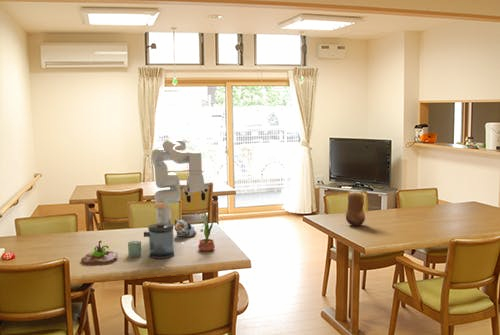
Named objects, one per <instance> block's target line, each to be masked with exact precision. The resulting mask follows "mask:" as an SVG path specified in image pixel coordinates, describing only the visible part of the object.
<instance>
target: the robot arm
mask: <svg viewBox="0 0 500 335" xmlns="http://www.w3.org/2000/svg"><path fill="white" fill-rule="evenodd" d="M186 148H187V146H186V142H185V141H184V140H183V139H182V138H172V139H171V138H170V139H166V140H165V141H164V142H163V143H162V147H159V148H155V149H153V150H152V152H151V162H152V164H153V168H154V179H155V186H156V187H157V188H158V189H160V190H158V191H156V192H155V193H154V201H155V204H156V203H166V208H163V216H158V208H155V210H156V224H159V223H168V224H172V210H171V208H170V206H169V204H175V203H179V202H180V200H181V190H182V192H183V194H185V196H186V201H187V203H191V199H192V198H191V194H192V193H199V192H200V193H201V194H200V196H201V197H200V198H201V201H206V194H207V192H208V189H209V188H210V186H209V185H207V184H205V179H204V175H203V173H204V170H203V167H202V164H203V162H202V153H201V152H200V151H197V150H193V149H191V150H186ZM165 161H172V162H174V163H176V164H178V165H180V164H182V165H183V164H188V175H187V177H186V185H185V186H183V188H182V189H181V185H180V184H181V183H180V177H179V175H178V174H177V173H175V172H169V169H168V165H167V164H166V162H165ZM166 188H167V189H166ZM168 188H170V189H168ZM174 236H175V234H174V233H173V237H174Z"/></svg>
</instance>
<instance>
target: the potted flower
mask: <svg viewBox="0 0 500 335" xmlns="http://www.w3.org/2000/svg"><path fill="white" fill-rule="evenodd" d="M200 213H201V216H200ZM194 216H195V217H197V220H198V221H201V220H202V221H203V225H202V226H201V229H200V232H201V233H202V232H203V234H204V238H205V239H204V238H203V239H200V240H199V244H198V246H197V247H198V250H199V251H201V252H211V250H212V251H213V250H215V248H216V247H215V243H214V242H215V241H214V239H210V238H209V237H210V236H211V231H212V228H213V225H214V221H215V216H213V217H212V220H211V224H210V226H209V220H208V217H207V216H208V215H207V214H206V212H205V211H204V210H203V209H202V210H200V211H199V212H196V213H195V214H194ZM203 227H204V229H203Z"/></svg>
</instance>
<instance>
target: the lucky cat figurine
mask: <svg viewBox="0 0 500 335" xmlns="http://www.w3.org/2000/svg"><path fill="white" fill-rule="evenodd" d="M174 230H175V231H176V235H177V237H191V238H193V237H195V236H196V235H197V232H196V230H195V228H194V226H193V225H192V224H191V222H190V221H189V222H186V221H185V220H184V219H178V218H176V219H174Z"/></svg>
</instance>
